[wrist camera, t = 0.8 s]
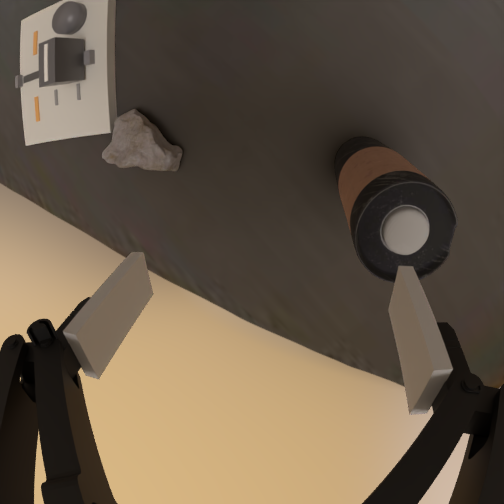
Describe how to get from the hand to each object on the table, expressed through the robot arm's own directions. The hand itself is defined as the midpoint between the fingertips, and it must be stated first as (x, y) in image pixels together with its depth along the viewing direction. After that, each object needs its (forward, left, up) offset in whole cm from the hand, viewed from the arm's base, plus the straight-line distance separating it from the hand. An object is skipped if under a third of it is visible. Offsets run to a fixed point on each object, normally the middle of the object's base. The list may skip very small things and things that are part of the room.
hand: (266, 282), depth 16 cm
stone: (-3, -18, -26) cm, 32 cm away
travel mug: (-1, +9, -26) cm, 27 cm away
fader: (-16, -28, -23) cm, 40 cm away
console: (-16, -32, -25) cm, 44 cm away
